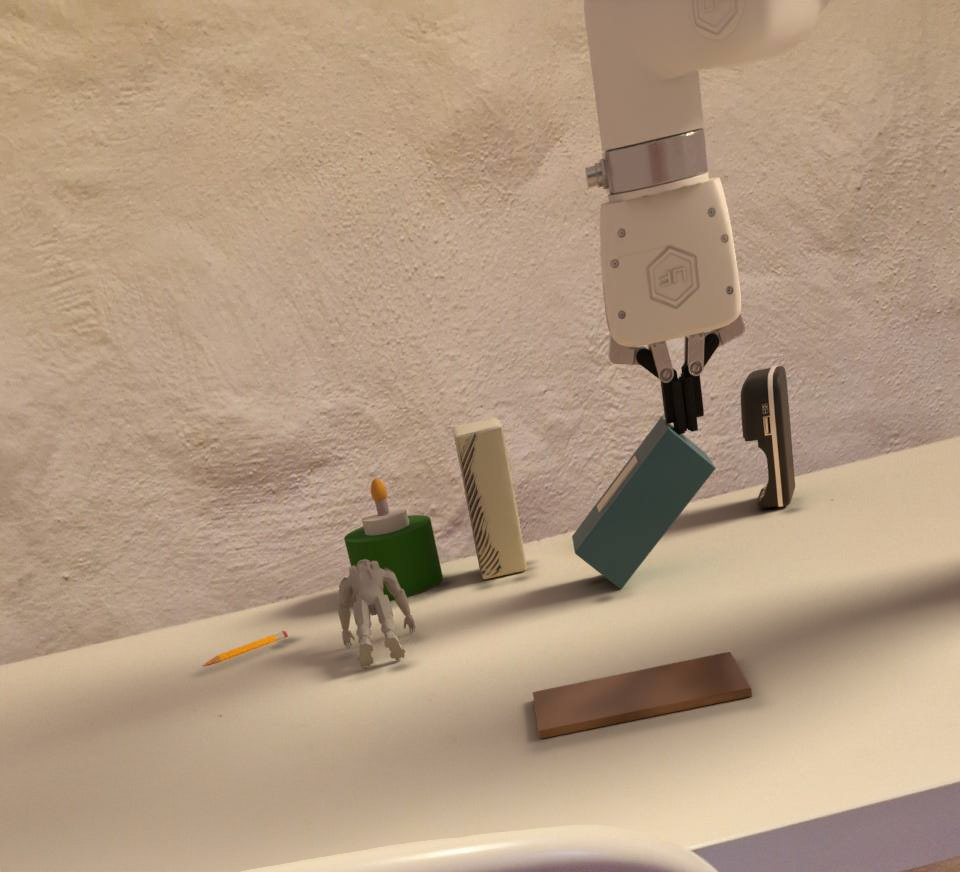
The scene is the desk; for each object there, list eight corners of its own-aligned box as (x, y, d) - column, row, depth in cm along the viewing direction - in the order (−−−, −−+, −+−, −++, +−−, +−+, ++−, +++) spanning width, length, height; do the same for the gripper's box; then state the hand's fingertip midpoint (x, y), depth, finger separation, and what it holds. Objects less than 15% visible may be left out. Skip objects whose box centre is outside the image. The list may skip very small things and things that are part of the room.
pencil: (288, 639, 127) (286, 631, 127) (204, 670, 124) (202, 662, 123) (285, 637, 128) (283, 630, 127) (201, 669, 124) (198, 661, 124)
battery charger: (756, 495, 135) (743, 368, 129) (796, 489, 134) (785, 360, 128) (748, 514, 130) (735, 382, 124) (790, 508, 128) (779, 374, 122)
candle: (351, 590, 136) (324, 484, 131) (431, 567, 137) (408, 461, 132) (367, 607, 129) (340, 496, 124) (452, 583, 130) (428, 472, 125)
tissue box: (707, 454, 117) (660, 414, 116) (716, 468, 112) (667, 427, 111) (616, 571, 123) (570, 535, 121) (621, 590, 117) (573, 552, 116)
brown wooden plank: (731, 659, 97) (730, 650, 97) (752, 696, 90) (751, 687, 90) (533, 699, 99) (532, 691, 98) (539, 739, 92) (538, 730, 91)
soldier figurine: (427, 680, 115) (409, 595, 122) (414, 626, 111) (396, 542, 118) (352, 697, 115) (339, 612, 123) (337, 644, 111) (324, 559, 118)
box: (478, 568, 133) (450, 426, 126) (524, 558, 133) (497, 415, 126) (483, 582, 129) (453, 435, 122) (529, 571, 128) (503, 423, 122)
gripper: (560, 193, 101) (598, 458, 111) (765, 145, 100) (787, 417, 110) (554, 191, 108) (591, 441, 117) (747, 146, 106) (769, 403, 116)
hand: (685, 429), depth 114 cm, fingers closed
